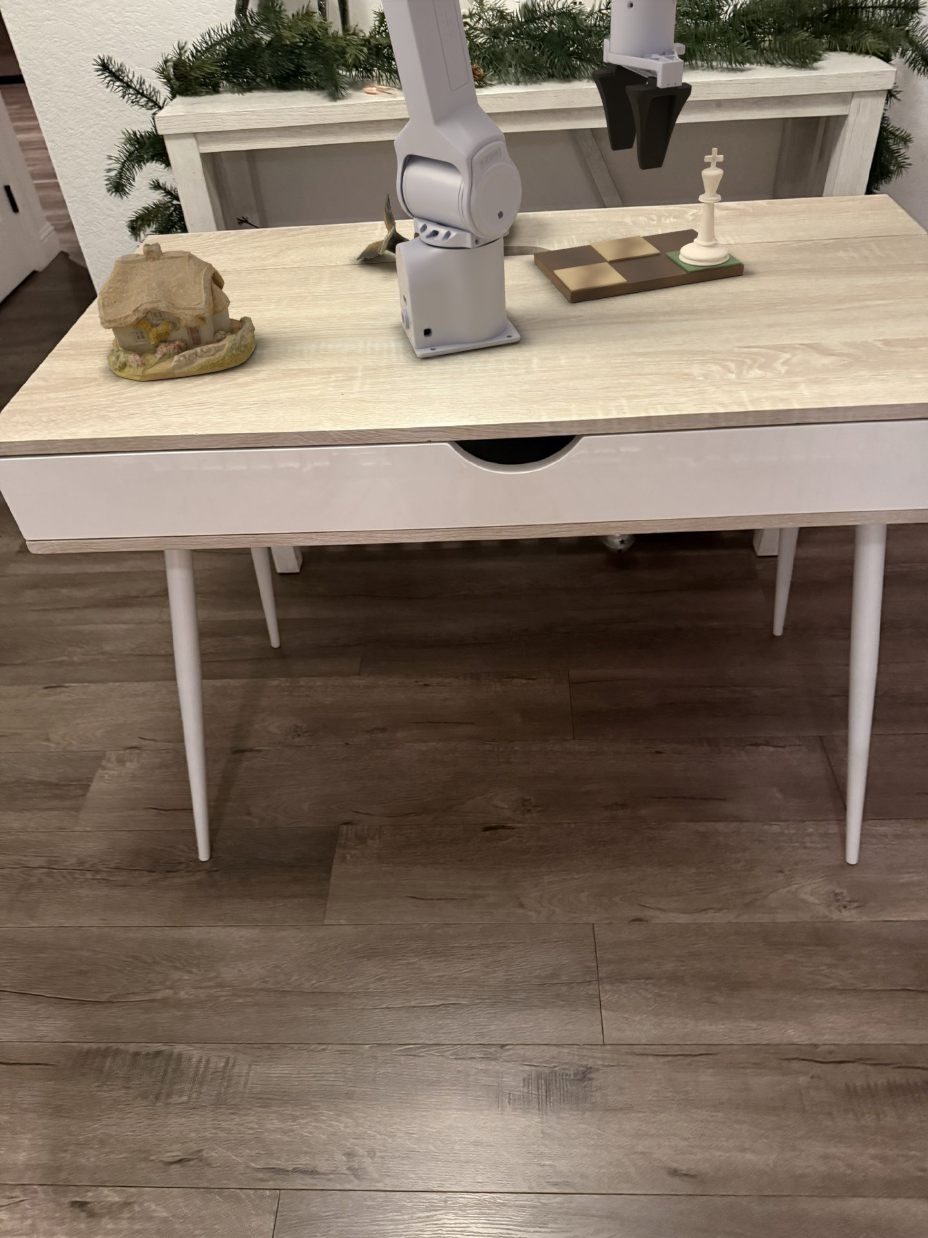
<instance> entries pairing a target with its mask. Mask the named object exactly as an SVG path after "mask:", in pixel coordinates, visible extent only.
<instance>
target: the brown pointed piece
mask: <svg viewBox="0 0 928 1238" xmlns="http://www.w3.org/2000/svg"><path fill="white" fill-rule="evenodd" d="M383 223H384V226H385V228H386V230H387V234H386V235H385V237H384V238H383V239H381V240H376V241H373V242H372V243H370V244H368V245H367V246H365V248H364V249H363V251H362V252H361V253H360V254H359V256H358V257H357V258H356V261H359V260H361V259H364V258H366V259H367V260H371V259H376V257H378V256H379V255H380V256H383V255H384V254H385V253H386V251H387V252H390V253H392V254H394V255H395V256H396V245H397V244H399V243H402V242H407V241H410V240H411V239H409V238H407V237H406V236H405V237H404V236H403V235H402V234H400V233H399V232H398V231H397V228H396V226H397V225H396V224H397V223H396V221H395V217H394V214H393V212H392V207H391V199H390V195H389V193H386V198H385V202H384V208H383ZM418 236H419V233H417V232H415V231H414V234H413V239H415V238H417V237H418Z"/></svg>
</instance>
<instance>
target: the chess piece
mask: <svg viewBox="0 0 928 1238" xmlns="http://www.w3.org/2000/svg"><path fill="white" fill-rule="evenodd" d="M724 157H725V156H724V154H718V147H712V148H711V155H704V158H703V159H704V163H710V167H707V168H704V169H703V170H701V178H702V182H703V187H704V193H702V194H700V195H699V197H698V201H699V202H700V203H703V209H702V214H701V220H700V224H699V228H698V231H697V232H698V236H697V238H696V239H694V242H693V243H690V244H687V245H685V246H683V247H682V248H681V250H680V255H679V259H680V260H681V261H682V262H684V263H687V264H690V265H696V266H712V265H718V264H721V263H724V262H726V261H727V260H728V259H729V254H730V249H729V247H728V246H727V245H725V244H724V243H720V242H718V241H719V240H718V239H717V238H716V236H715V203H719V202H720V201H722V196H721V195H720V194H719V193H717V190H718V188H719V185H720V182H721V180H722V178H723V175H724V170H723V169H722V168H720V167H717V162H724Z"/></svg>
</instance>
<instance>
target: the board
mask: <svg viewBox="0 0 928 1238" xmlns="http://www.w3.org/2000/svg"><path fill="white" fill-rule="evenodd" d="M698 232H699V231H697V230H695V229H693V228H688V229H682V230H675V231H670V232H662V233H657V234H650V235H644V236H641V235H635V236H627V237H621V238H613V239H608V240H602V241H595V242H590V243H589V244H586V245H585V244H584V245H579V246H573V247H565V248H560V249H553V250H547V251H540V252H535V253H533V263H534V264H535V266H537V268H538V269H539V270H540V271H541V272H542V273H543V274H544V276H546V277H547V279H548V280H549V281H550V282H551V283H552V284H553V285H554V286H555V287H556V289H557V290H558V291H559V292H560V293H561V294H562V295H563V296H564V297H565V298H566V299H567V300H568V302H569V303H578V302H579V303H580V302H585V301H591V300H597V299H602V298H608V297H614V296H620V295H628V294H633V293H638V292H646V291H651V290H657V289H663V288H669V287H675V286H683V285H688V284H693V283H700V282H706V281H713V280H718V279H724V278H730V277H731V278H732V277H736V276H742V275H744V270H745V264H744V263H743V262H742V261H741V260H739V259H738V258H736V257H735V256H734V255H732V254H731V253H729V259H728V260H727V261H726V262H724V263H721V264H718V265H712V266H696V265H690V264H687V263H684V262H682V261H681V260H680V259H679V255H680V250H681V248H682V247H683V246H685V245H687V244H690V243H693V242H694V239H696V238H697V236H698Z"/></svg>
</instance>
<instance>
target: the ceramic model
mask: <svg viewBox="0 0 928 1238" xmlns="http://www.w3.org/2000/svg"><path fill="white" fill-rule="evenodd" d="M224 286H225V280H224V279H223V276H222V275H221V274H220V272H219V270H218V269H216V267H214V266H213V264H212V263H211V262H208V261H206V260H203V259H201V258H199V257H198V256H196V255H195V254H192V253H191V251H190V250H189V251H187V250H186V251H185V250H181V249H180V250H167V251H163V250H162V247H161V244H160V243H159V242H154V243H151V244H150V243H144V245H143V246H142V253H129V254H124V255H121V256H119V257H118V258H117V259H115V261H114V264H113V267H112V270H111V272H110V274H109V276H108V277H107V280H106V281H105V282H104V283H103V285H102V286H101V289H100V290H99V292H98V298H97V302H96V303H97V309H98V313H99V314H98V318H99V321H100V325H101V327H102V328H103V329H105V330H112V333H113V335H114V338H113V340H112V341H111V345H112V347H113V348H112V349H109V351H108V354H107V355H106V357H107V358H106V359H107V364H108V366H109V369H110V370H111V371H112V372H113V373H114V374H115V375H116V376H118V377H120V378H125V379H128V380H134V381H139V382H145V381H157V380H163V379H164V380H165V379H172V378H174V379H175V378H180V377H189V376H197V375H203V374H208V373H213V372H218V371H224V370H228V369H231V368H233V367H236V366H239V365H240V364H242V363H244V362H246V361H247V360H248V358H250V356H251V355H252V353H253V352H254V351H255V348H256V339H255V330H256V328H255V325H254V323H253V320H252V317H250V316H245V315H244V316H242V317H240V318H239V319H235V318H231V317H230V313H229V307H230V304H231V300H230V298H229V296H228V295H227V293H225V291H224V290H223V289H224V288H225V287H224Z"/></svg>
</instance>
